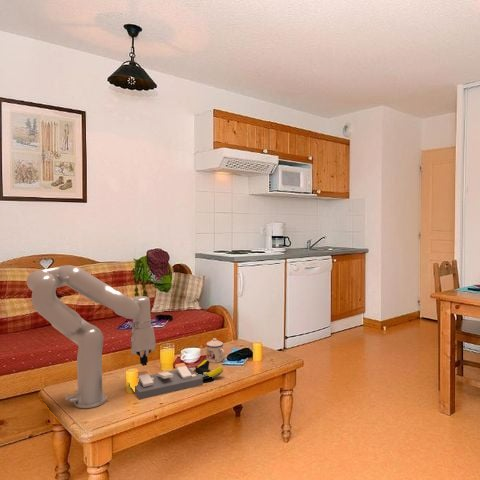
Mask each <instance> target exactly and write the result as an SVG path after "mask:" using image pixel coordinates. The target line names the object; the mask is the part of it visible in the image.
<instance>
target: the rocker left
mask: <svg viewBox="0 0 480 480" xmlns="http://www.w3.org/2000/svg"><path fill="white" fill-rule="evenodd" d="M137 373H138V376H137V378H139V380H140V382H141V383H142V385H143V387H145V386H150V385H154V382H153V380H152V379H151V377H150V376H149V375H150V374H149V372H148V371H147V370H144V371H138V372H137Z"/></svg>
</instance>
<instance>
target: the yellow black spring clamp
mask: <svg viewBox="0 0 480 480" xmlns="http://www.w3.org/2000/svg"><path fill="white" fill-rule="evenodd" d="M209 367H210V362H209V361H208V360H207V359H205V360H202V361H201V363H200V364H199V365H198V366H194V367H193V371H194V372H195V373H198V374H202V375H204V376H209V377H212V379H215V378H217V377H219V376H220V375H221V374H222V373H223V371H224V368H223V366H218V367H216V368H214V369H209Z"/></svg>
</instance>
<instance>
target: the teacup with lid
mask: <svg viewBox="0 0 480 480" xmlns="http://www.w3.org/2000/svg"><path fill="white" fill-rule="evenodd" d="M205 346H206V360H208V361H209V363H213V364H215V363H216V364H217V363H220V362H223V361H224V358H225V354H226V353H225V350H224V348H223V347H224V343H223V342H222V341H220V340H217V337H214V338H212V340H209V341H207V342H206V344H205Z"/></svg>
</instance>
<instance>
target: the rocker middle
mask: <svg viewBox="0 0 480 480" xmlns="http://www.w3.org/2000/svg"><path fill="white" fill-rule="evenodd" d="M155 374H156V375H157V376H159V377H161V378H163V379H165V378H170V377H173V374H172V373H169V372H168V371H167V370H162V371H157V372H155Z"/></svg>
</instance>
